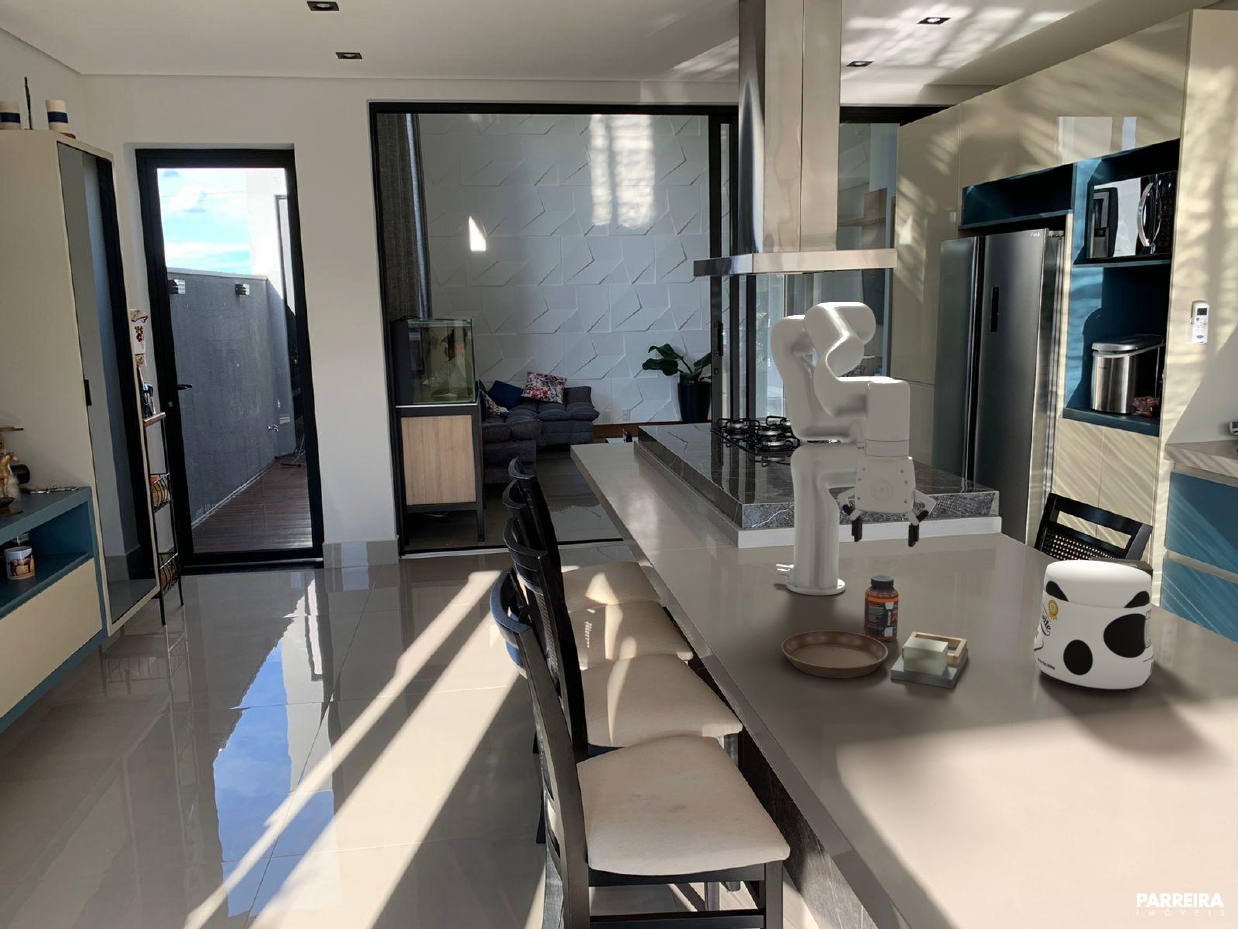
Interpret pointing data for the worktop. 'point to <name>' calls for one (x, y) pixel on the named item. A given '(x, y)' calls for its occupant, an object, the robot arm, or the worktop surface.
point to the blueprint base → (929, 677)
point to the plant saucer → (834, 653)
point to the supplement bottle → (881, 609)
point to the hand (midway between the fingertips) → (884, 543)
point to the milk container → (1095, 626)
